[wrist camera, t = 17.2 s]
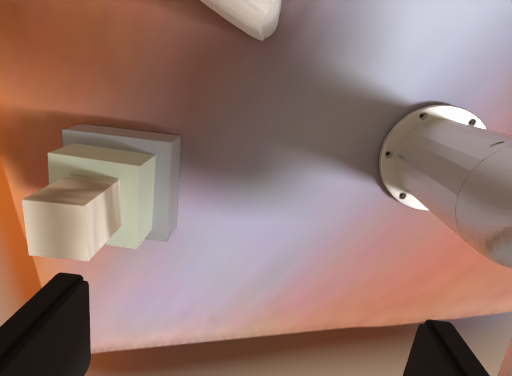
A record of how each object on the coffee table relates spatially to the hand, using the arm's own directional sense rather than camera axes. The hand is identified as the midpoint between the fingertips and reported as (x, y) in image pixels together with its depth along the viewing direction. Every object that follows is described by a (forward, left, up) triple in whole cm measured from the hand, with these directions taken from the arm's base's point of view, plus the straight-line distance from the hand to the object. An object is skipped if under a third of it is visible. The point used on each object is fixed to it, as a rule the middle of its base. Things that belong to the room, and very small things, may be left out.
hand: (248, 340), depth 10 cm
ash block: (+16, +7, -25) cm, 30 cm away
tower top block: (+16, +7, -30) cm, 35 cm away
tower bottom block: (+16, +7, -35) cm, 39 cm away
